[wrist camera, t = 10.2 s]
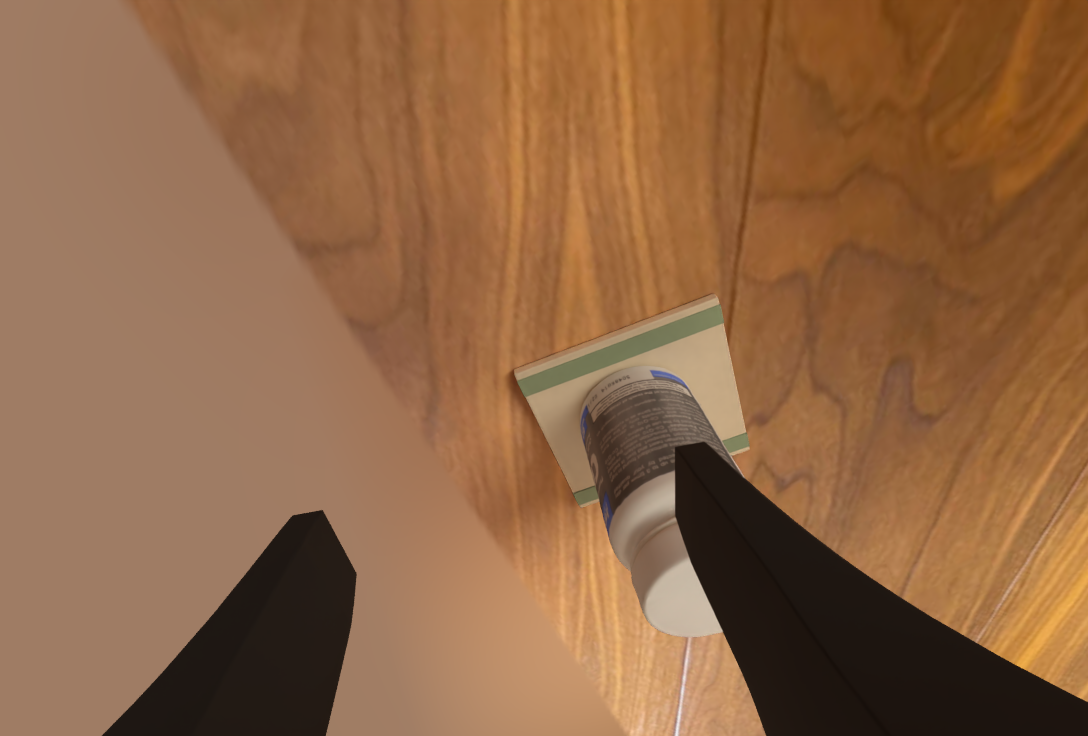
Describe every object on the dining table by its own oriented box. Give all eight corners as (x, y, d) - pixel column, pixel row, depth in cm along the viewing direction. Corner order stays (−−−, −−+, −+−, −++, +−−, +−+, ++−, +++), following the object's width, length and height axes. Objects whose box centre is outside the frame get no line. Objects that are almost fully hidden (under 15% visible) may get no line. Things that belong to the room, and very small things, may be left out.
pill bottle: (554, 409, 21) (593, 601, 14) (652, 340, 20) (752, 510, 12) (620, 473, 23) (684, 665, 16) (712, 414, 22) (825, 594, 15)
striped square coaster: (579, 502, 24) (580, 509, 24) (513, 369, 20) (513, 375, 20) (746, 444, 23) (750, 450, 23) (714, 292, 19) (719, 297, 19)
